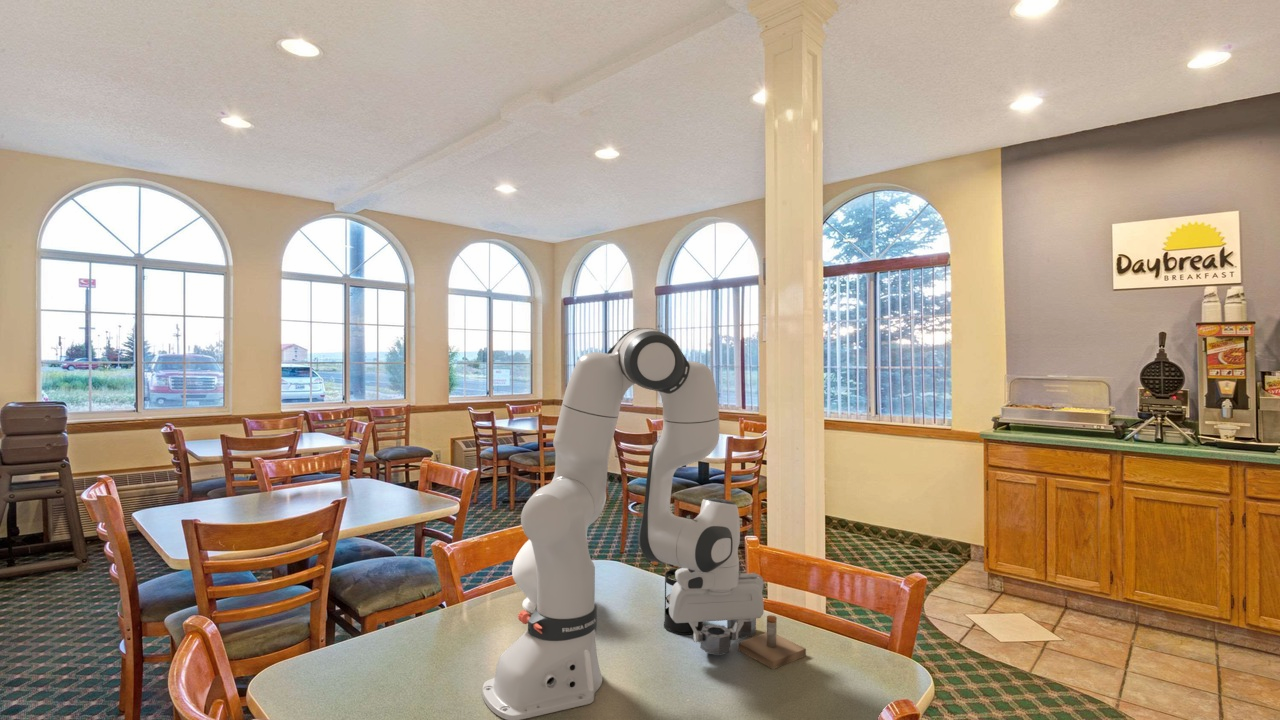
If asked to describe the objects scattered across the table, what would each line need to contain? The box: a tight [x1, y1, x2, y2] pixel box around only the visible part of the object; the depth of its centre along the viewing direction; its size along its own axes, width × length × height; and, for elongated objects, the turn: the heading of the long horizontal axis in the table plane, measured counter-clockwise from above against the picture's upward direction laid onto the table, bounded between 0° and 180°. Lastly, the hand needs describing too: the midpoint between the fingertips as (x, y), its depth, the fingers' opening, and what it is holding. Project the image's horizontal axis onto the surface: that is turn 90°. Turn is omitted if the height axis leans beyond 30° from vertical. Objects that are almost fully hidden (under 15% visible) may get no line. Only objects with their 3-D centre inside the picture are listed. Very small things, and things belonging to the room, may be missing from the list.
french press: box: [663, 563, 705, 636], centre depth 141 cm, size 12×9×23 cm
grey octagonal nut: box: [700, 623, 732, 656], centre depth 127 cm, size 6×6×4 cm
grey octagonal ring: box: [726, 619, 757, 638], centre depth 138 cm, size 6×6×4 cm
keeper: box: [737, 614, 807, 670], centre depth 128 cm, size 10×10×8 cm
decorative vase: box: [511, 539, 537, 614], centre depth 153 cm, size 18×18×25 cm
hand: (715, 639), depth 127 cm, fingers closed on grey octagonal nut, 6 cm apart
